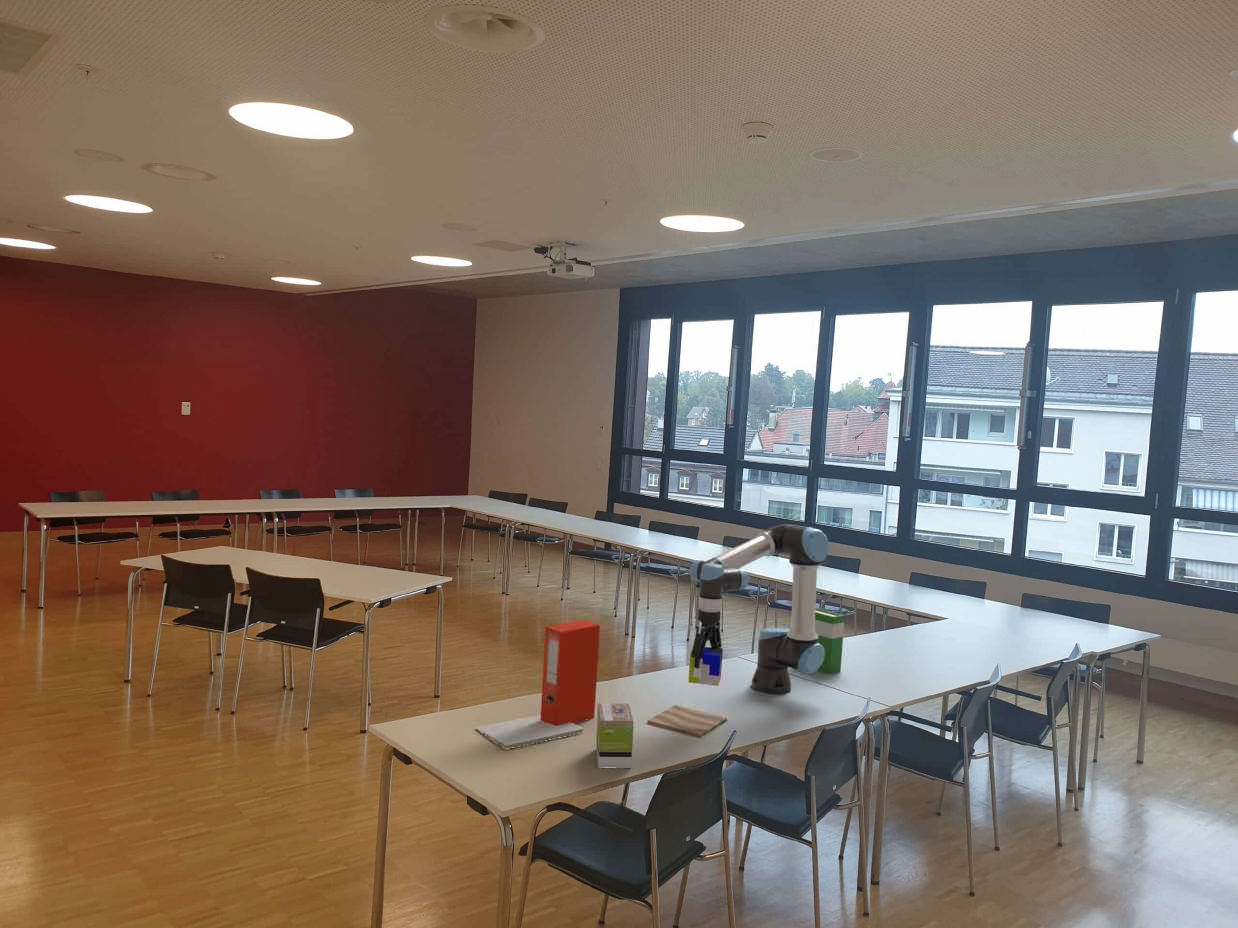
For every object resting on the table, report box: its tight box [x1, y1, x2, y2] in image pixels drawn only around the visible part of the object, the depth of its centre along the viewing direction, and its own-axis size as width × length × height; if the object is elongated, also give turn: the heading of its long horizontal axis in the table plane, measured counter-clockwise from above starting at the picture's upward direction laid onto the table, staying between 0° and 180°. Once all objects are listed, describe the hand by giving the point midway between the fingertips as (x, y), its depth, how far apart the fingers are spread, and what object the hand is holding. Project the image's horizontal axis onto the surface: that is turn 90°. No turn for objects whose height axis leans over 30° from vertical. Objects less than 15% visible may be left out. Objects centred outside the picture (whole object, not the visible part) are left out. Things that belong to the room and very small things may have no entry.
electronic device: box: [475, 714, 584, 749], centre depth 281 cm, size 29×20×2 cm
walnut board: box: [647, 704, 728, 738], centre depth 298 cm, size 20×20×1 cm
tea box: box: [595, 702, 634, 769], centre depth 262 cm, size 15×10×15 cm, turn 5°
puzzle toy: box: [688, 646, 724, 687], centre depth 297 cm, size 10×10×10 cm
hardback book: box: [815, 607, 845, 675], centre depth 371 cm, size 18×7×24 cm, turn 40°
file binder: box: [540, 619, 601, 726], centre depth 292 cm, size 8×17×32 cm, turn 136°
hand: (705, 673), depth 297 cm, fingers closed on puzzle toy, 12 cm apart
